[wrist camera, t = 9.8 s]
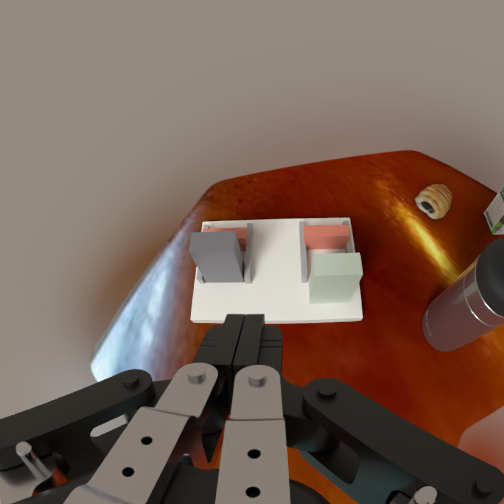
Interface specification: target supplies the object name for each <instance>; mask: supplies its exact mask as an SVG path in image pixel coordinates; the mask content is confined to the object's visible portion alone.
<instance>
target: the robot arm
mask: <svg viewBox="0 0 504 504" xmlns="http://www.w3.org/2000/svg"><path fill="white" fill-rule="evenodd" d="M503 324H504V238H501V239H497V240H495V241H493V242H492V243H490V244H489V245H488V246H487V247H486V248H485V249H484V251H483V252H482V253H481V254H480V255H479V256H478V257H477V258H476V259H475V260H474V261H473V262H472V263H471V265H470V266H469V267H468V268H467V269H466V270H465V271H464V272H463V273H462V274H461V275H460V276H459V277H458V278H457V279H456V280H455V281H454V282H453V283H452V284H451V285H450V286H449V287H447V288H446V289H445V290H444V291H443V292H442V293H441V294H440V295H439V296H438V297H437V298H436V299H435V300H433V301H432V302H431V303H430V304H429V305H428V306H427V308H426V310H425V311H424V314H423V318H422V329H423V333H424V335H425V338H426V340H427V341H428V343H429V344H430V345H431V346H432V347H433V348H435V349H437V350H439V351H442V352H449V351H453V350H455V349H457V348H459V347H461V346H463V345H466V344H468V343H470V342H472V341H473V340H475V339H477V338H479V337H481V336H483V335H485V334H487V333H488V332H490V331H492V330H494V329H496V328H497V327H499V326H501V325H503ZM121 415H124V417H125V419H126V422H127V423H126V424H124V425H122V426H120V427H118V428H116V429H113V430H111V431H109V432H107V433H105V434H102V435H100V436H97V437H92V436H90V433H91V431H92V430H93V428H95V427H97V426H99V425H101V424H103V423H106V422H108V421H110V420H112V419H115V418H117V417H119V416H121ZM228 415H231V416H230V418H228ZM222 443H223V446H222ZM221 446H222V454H221V462H220V469H214V466H215V463H216V460H217V457H218V455H219V452H220V449H221ZM287 447H291V448H295V449H299V452H300V454H301V456H302V457H303V458H304V459H305V460H306V461H308V462H309V463H310V464H311V465H312V466H313V467H314V468H316V469H317V470H318V471H319V472H320V473H321V474H323V475H324V476H325V477H326V478H327V479H329V480H330V481H331V482H332V483H333V484H335V485H336V486H337V487H338V488H340V489H341V490H342V491H343V492H345V493H346V494H347V495H348V496H350V497H351V498H352V499H354V500H355V501H356V502H358V503H359V504H498V503H499V502H500V501H501V500H502V499H503V497H504V474H503V473H502V472H501V471H500V470H499V469H497V468H496V467H494V466H492V465H490V464H488V463H486V462H484V461H481V460H480V459H478V458H475V457H474V456H472V455H470V454H467V453H465V452H464V451H462V450H460V449H458V448H456V447H454V446H452V445H450V444H448V443H446V442H445V441H443V440H441V439H439V438H437V437H435V436H433V435H432V434H430V433H428V432H426V431H424V430H423V429H421V428H419V427H417V426H415V425H414V424H412V423H410V422H408V421H407V420H405V419H403V418H401V417H400V416H398V415H396V414H394V413H393V412H391V411H389V410H388V409H386V408H384V407H383V406H381V405H379V404H378V403H376V402H374V401H373V400H371V399H369V398H368V397H366V396H364V395H363V394H361V393H359V392H358V391H356V390H355V389H353V388H351V387H350V386H348V385H346V384H345V383H343V382H341V381H339V380H337V379H332V378H321V379H316V380H313V381H311V382H310V383H308V384H307V385H306V386H305V387H301V386H297V385H294V384H291V383H289V382H288V381H286V380H285V379H284V378H283V376H282V332H281V330H280V329H279V328H278V326H265V315H264V314H246V315H245V314H227V316H226V318H225V321H224V323H223V325H214V326H213V327H212V328H210V329H209V330H208V331H207V332H206V334H205V336H204V338H203V340H202V342H201V346H200V347H199V349H198V351H197V353H196V355H195V358H194V360H193V362H192V364H188V365H186V366H184V367H182V368H180V369H179V370H178V371H177V373H176V374H175V376H174V378H173V379H171V380H164V381H155V382H153V381H152V378H151V375H150V374H149V373H148V372H146V371H143V370H139V369H132V370H127V371H124V372H121V373H119V374H117V375H114V376H112V377H110V378H107V379H105V380H103V381H100V382H98V383H95V384H93V385H90V386H88V387H86V388H83V389H81V390H78V391H76V392H73V393H71V394H68V395H66V396H63V397H60V398H58V399H55V400H53V401H50V402H48V403H45V404H42V405H39V406H37V407H34V408H31V409H28V410H26V411H23V412H20V413H17V414H15V415H12V416H9V417H6V418H3V419H0V497H1V500H2V504H330V503H329V502H328V501H327V500H326V499H325V498H324V497H322V496H321V495H320V494H319V493H318V492H316V491H315V490H313V489H312V488H310V487H308V486H306V485H304V484H302V483H300V482H297V481H294V480H291V479H289V473H288V459H287Z"/></svg>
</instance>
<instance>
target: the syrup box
mask: <svg viewBox="0 0 504 504" xmlns="http://www.w3.org/2000/svg"><path fill="white" fill-rule="evenodd" d="M484 215H485V217H486V220H487V222H488V225H489V228H490V230H491V233H492V235H501V234H504V185H503V186H502V188H501V189H500V191H499V192H498V194H497V195H496V197H495V198H494V200H493V201H492V202H491V204H490V205H489V207H488V208H487V209H486V211H485V212H484Z"/></svg>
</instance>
